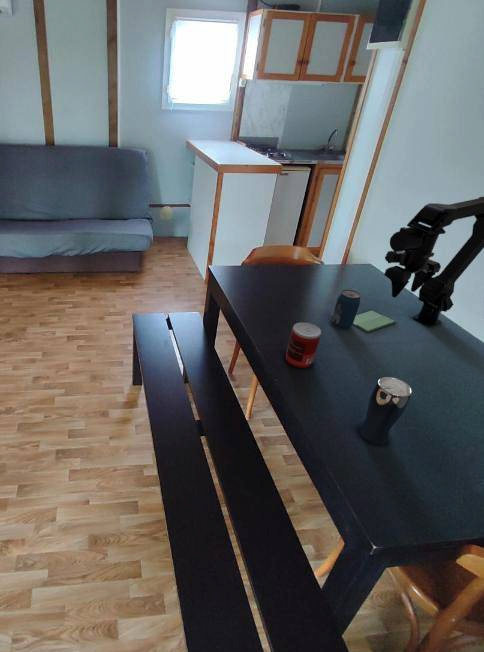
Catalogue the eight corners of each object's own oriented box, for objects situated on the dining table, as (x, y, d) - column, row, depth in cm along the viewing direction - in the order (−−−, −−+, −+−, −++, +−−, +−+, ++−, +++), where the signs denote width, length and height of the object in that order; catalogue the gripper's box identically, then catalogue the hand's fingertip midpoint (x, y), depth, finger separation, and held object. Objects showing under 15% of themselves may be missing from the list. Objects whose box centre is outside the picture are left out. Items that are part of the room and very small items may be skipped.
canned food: (312, 356, 123) (321, 324, 117) (312, 371, 117) (321, 339, 111) (285, 350, 125) (293, 320, 119) (284, 365, 119) (292, 333, 113)
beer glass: (351, 425, 99) (370, 376, 91) (378, 423, 99) (400, 375, 91) (366, 447, 93) (389, 397, 85) (395, 445, 94) (420, 396, 85)
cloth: (371, 311, 147) (372, 309, 147) (394, 322, 140) (395, 321, 140) (344, 319, 142) (345, 318, 141) (367, 332, 135) (367, 330, 135)
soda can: (353, 324, 139) (364, 292, 133) (349, 332, 134) (360, 300, 128) (332, 317, 142) (342, 286, 136) (327, 326, 138) (337, 294, 131)
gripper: (416, 235, 133) (399, 279, 141) (377, 244, 125) (362, 289, 134) (450, 246, 124) (430, 292, 133) (411, 256, 117) (392, 304, 126)
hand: (403, 294), depth 132 cm, fingers open, 9 cm apart
